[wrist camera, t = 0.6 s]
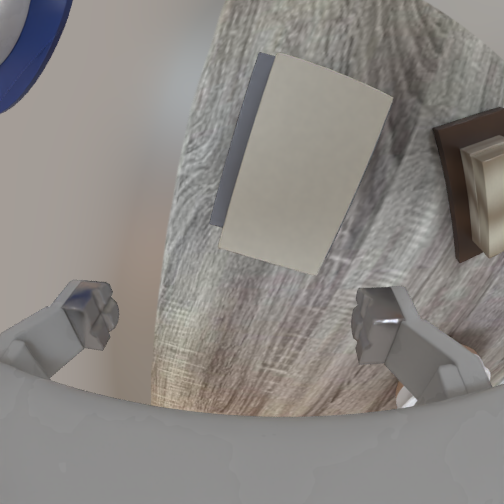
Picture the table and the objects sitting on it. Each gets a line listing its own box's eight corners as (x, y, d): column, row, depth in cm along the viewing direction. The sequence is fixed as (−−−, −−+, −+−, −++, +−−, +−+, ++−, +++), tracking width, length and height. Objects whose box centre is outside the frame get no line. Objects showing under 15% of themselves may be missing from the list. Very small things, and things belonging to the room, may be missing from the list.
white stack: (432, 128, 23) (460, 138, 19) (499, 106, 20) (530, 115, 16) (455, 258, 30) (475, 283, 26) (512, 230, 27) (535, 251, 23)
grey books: (264, 65, 22) (258, 51, 14) (352, 96, 23) (393, 102, 14) (230, 178, 28) (208, 224, 19) (311, 203, 28) (325, 259, 20)
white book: (277, 56, 14) (277, 51, 11) (378, 95, 14) (394, 97, 12) (223, 228, 19) (217, 248, 17) (312, 254, 20) (316, 276, 18)
